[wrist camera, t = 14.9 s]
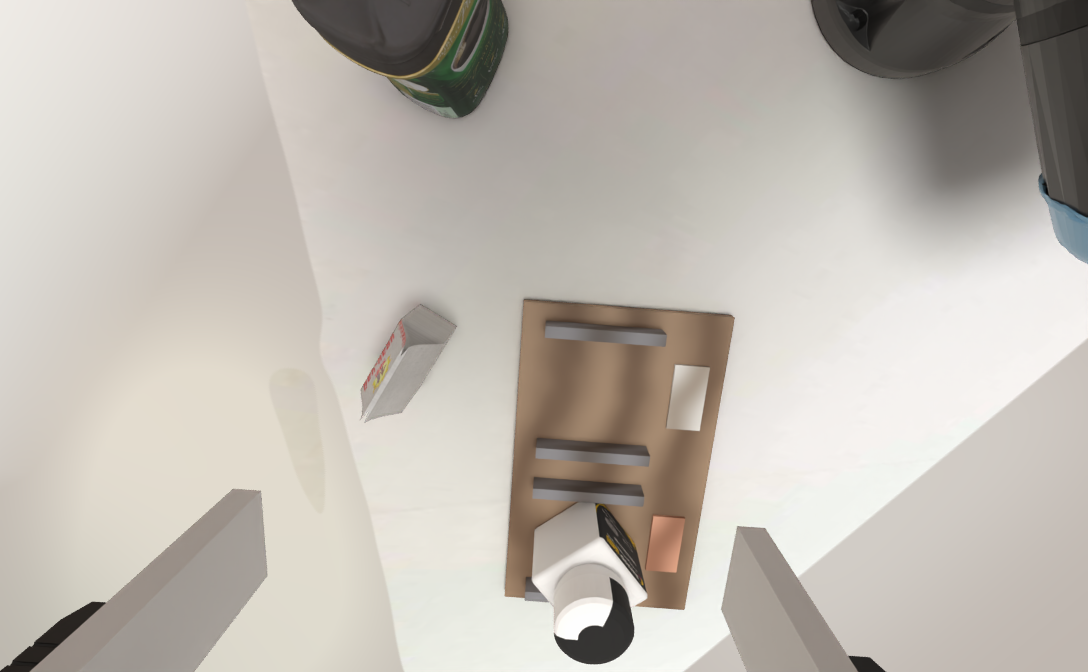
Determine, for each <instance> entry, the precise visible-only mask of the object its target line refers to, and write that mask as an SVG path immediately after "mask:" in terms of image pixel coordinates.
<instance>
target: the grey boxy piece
mask: <svg viewBox="0 0 1088 672" xmlns="http://www.w3.org/2000/svg"><path fill="white" fill-rule="evenodd" d="M456 327H457V326H456V325H454V324H452V323H451V322H449V321H447V320H446V319H444V318H442V317H441V316H439V315H437V314H436V313H434V312H432V311H431V310H429V309H428V308H426V307H424V306H423V305H421V304H420V305H419V306H418V307H416V308H415V309H414V310H412V311H411V312H410V313H408V314H407V315H406V316H405V317H403V318H402V319H401V320H400V322H399V324H398V325H397V327H396V329H395V331H394V332H393V334H392V336H391V338H390V339H389V341H388V343H387V345H386V346H385V348H384V350H383V351H382V353H381V355H380V357H379V358H378V360H377V362H376V364H375V365H374V367H373V369H372V371H371V372H370V374H369V376H368V378H367V379H366V381H365V383H364V384H363V386H362V388H361V397H362V416H361V419H362V418H363V417H364V416H365V415H366V413H367V412H368V413H367V416H366V419H365V422H367V421H369V420H371V419H375V418H378V417H382V416H387V415H392V414H397V413H402V411H403V410H404V409H405V407H406V406H407V404H408V403H409V402H410V400H411V399H412V397H413V396H414V395H415V393H416V392H417V390H418V389H419V388H420V386H421V385H422V383H423V381H424V380H425V378H426V376H427V375H428V373H429V371H430V370H431V368H432V366H433V365H434V363H435V362H436V360H437V358H438V357H439V355H440V353H441V352H442V350H443V348H444V347H445V345H446V343H447V342H448V340H449V338H450V337H451V335H452V334H453V332H454V330H455V329H456ZM361 419H360V420H361Z"/></svg>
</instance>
